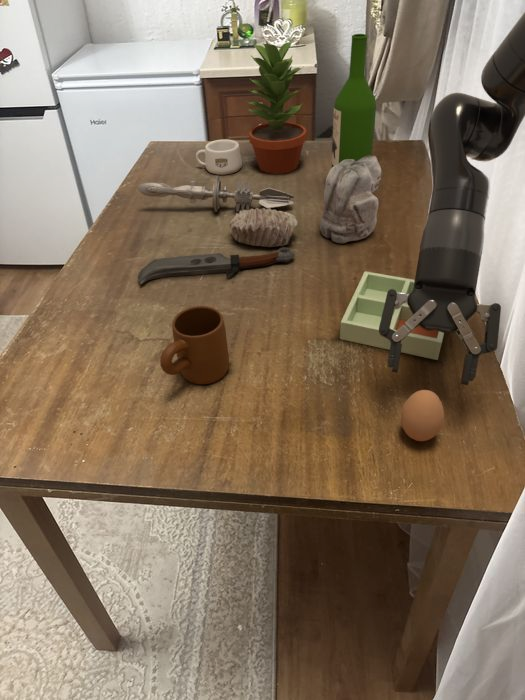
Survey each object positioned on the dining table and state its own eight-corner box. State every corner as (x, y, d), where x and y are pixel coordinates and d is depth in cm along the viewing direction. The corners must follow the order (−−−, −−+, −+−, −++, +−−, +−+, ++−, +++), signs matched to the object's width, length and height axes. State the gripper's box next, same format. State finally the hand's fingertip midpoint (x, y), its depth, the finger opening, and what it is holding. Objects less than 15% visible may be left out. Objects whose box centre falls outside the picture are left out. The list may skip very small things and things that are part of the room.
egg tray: (451, 303, 92) (455, 286, 90) (437, 360, 82) (441, 342, 79) (363, 287, 97) (364, 271, 95) (339, 339, 87) (340, 322, 84)
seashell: (301, 214, 113) (291, 186, 104) (302, 254, 111) (291, 229, 101) (236, 223, 117) (220, 197, 108) (235, 261, 115) (218, 239, 105)
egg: (438, 424, 72) (449, 382, 67) (438, 454, 68) (449, 412, 63) (399, 418, 73) (406, 376, 68) (396, 447, 70) (404, 405, 64)
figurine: (385, 233, 112) (394, 162, 102) (344, 250, 107) (349, 178, 97) (352, 215, 118) (357, 147, 108) (312, 231, 113) (313, 161, 104)
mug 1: (191, 412, 76) (181, 363, 70) (150, 393, 79) (138, 344, 73) (239, 362, 83) (234, 314, 77) (200, 347, 87) (193, 299, 80)
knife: (297, 267, 99) (134, 279, 99) (297, 277, 101) (137, 289, 100) (292, 243, 106) (139, 254, 105) (292, 253, 107) (142, 264, 107)
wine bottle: (325, 186, 130) (330, 33, 109) (360, 181, 131) (372, 28, 110) (337, 202, 123) (345, 42, 102) (374, 196, 124) (389, 37, 103)
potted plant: (307, 154, 146) (308, 27, 126) (304, 177, 134) (305, 42, 115) (253, 154, 147) (246, 29, 128) (245, 177, 136) (236, 43, 116)
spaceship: (141, 169, 123) (133, 169, 115) (294, 180, 123) (296, 181, 115) (141, 205, 125) (133, 207, 118) (291, 216, 125) (292, 219, 118)
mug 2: (243, 160, 144) (242, 137, 140) (241, 175, 137) (239, 151, 133) (199, 161, 145) (196, 139, 141) (194, 176, 138) (191, 153, 134)
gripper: (393, 238, 67) (370, 367, 66) (516, 252, 63) (494, 388, 62) (393, 254, 74) (373, 370, 73) (504, 266, 70) (483, 389, 70)
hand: (429, 378), depth 68 cm, fingers open, 8 cm apart
